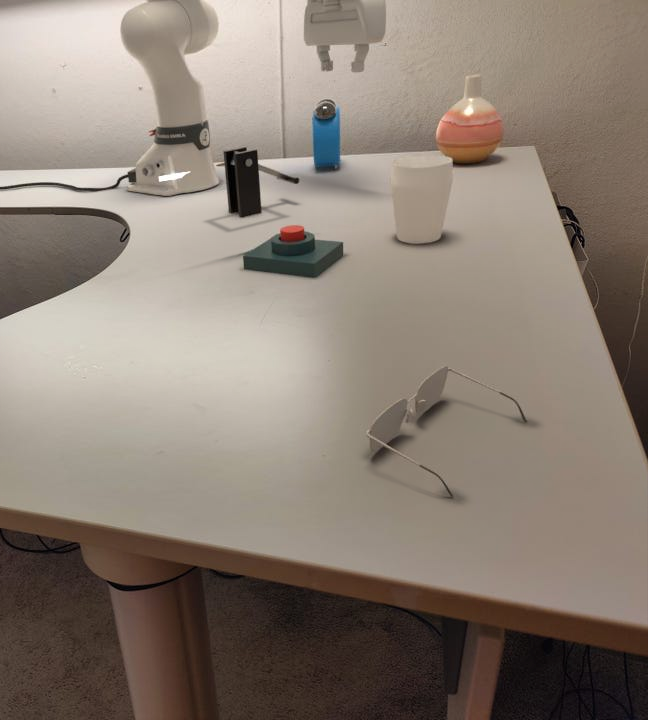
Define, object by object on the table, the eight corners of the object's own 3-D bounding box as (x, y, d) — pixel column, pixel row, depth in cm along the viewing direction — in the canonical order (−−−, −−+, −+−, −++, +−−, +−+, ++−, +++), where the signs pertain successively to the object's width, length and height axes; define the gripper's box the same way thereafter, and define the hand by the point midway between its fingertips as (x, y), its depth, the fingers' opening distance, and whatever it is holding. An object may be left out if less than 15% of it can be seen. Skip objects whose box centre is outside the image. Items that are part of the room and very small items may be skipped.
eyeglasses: (444, 393, 65) (450, 358, 63) (528, 426, 60) (537, 389, 58) (362, 462, 57) (365, 424, 55) (449, 506, 52) (457, 466, 50)
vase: (514, 157, 145) (523, 70, 137) (475, 170, 139) (482, 80, 131) (460, 152, 156) (465, 71, 148) (421, 164, 150) (425, 80, 142)
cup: (386, 246, 104) (388, 169, 98) (392, 229, 111) (393, 156, 106) (448, 246, 101) (453, 166, 95) (449, 228, 108) (454, 153, 103)
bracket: (260, 208, 133) (256, 142, 127) (285, 216, 125) (281, 147, 119) (207, 221, 129) (200, 153, 123) (228, 231, 121) (222, 159, 115)
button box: (243, 269, 102) (241, 244, 101) (275, 248, 109) (273, 225, 108) (315, 278, 96) (314, 251, 94) (343, 255, 103) (343, 230, 101)
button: (276, 242, 101) (275, 231, 100) (287, 235, 103) (287, 224, 102) (297, 244, 99) (297, 233, 98) (308, 237, 101) (308, 226, 100)
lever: (278, 182, 131) (283, 170, 130) (296, 188, 125) (301, 175, 125) (224, 162, 124) (228, 149, 124) (241, 166, 119) (245, 153, 118)
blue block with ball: (340, 171, 152) (339, 102, 145) (312, 173, 154) (310, 105, 147) (340, 159, 163) (339, 95, 157) (314, 161, 165) (313, 97, 158)
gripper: (294, -7, 125) (297, 73, 131) (362, -17, 108) (361, 75, 114) (322, -10, 127) (323, 68, 133) (393, -21, 110) (391, 69, 116)
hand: (341, 71), depth 124 cm, fingers open, 8 cm apart
